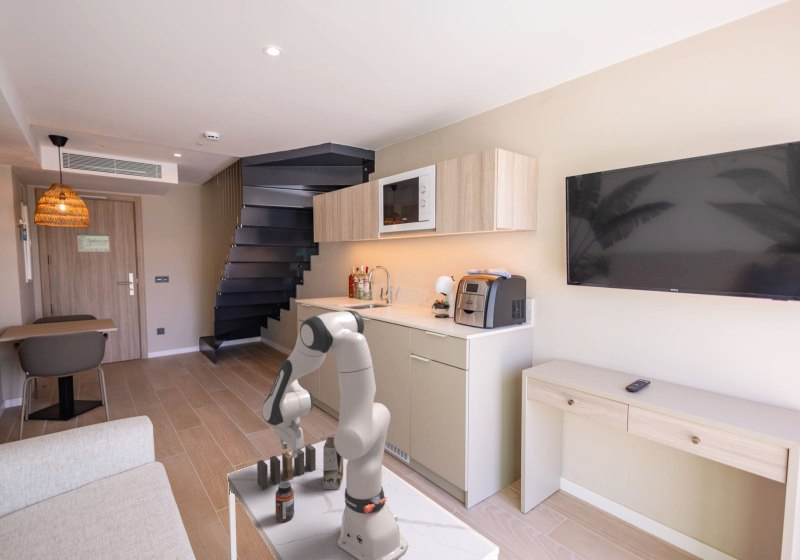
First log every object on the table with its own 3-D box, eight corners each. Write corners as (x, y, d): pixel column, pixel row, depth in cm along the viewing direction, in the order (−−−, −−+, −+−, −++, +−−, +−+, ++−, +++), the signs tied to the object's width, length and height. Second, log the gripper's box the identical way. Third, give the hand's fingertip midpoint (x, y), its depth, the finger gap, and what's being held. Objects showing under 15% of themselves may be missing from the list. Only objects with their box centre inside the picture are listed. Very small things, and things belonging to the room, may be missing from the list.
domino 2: (280, 483, 151) (280, 460, 151) (275, 485, 150) (275, 462, 149) (275, 477, 155) (274, 455, 154) (270, 479, 154) (270, 457, 153)
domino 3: (292, 478, 154) (292, 456, 154) (287, 480, 153) (287, 458, 152) (287, 473, 158) (286, 451, 158) (282, 475, 157) (282, 453, 156)
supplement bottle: (272, 516, 132) (272, 483, 131) (289, 508, 136) (289, 477, 135) (280, 525, 128) (279, 491, 127) (297, 517, 131) (296, 484, 131)
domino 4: (304, 474, 158) (304, 452, 157) (299, 476, 156) (299, 454, 156) (298, 469, 161) (298, 447, 161) (294, 470, 160) (293, 449, 160)
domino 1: (267, 488, 148) (267, 465, 147) (262, 490, 147) (262, 466, 146) (262, 482, 152) (262, 459, 151) (257, 484, 150) (257, 461, 150)
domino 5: (315, 470, 161) (315, 448, 160) (311, 471, 160) (311, 450, 159) (309, 465, 165) (309, 444, 164) (305, 466, 163) (305, 445, 163)
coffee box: (339, 489, 147) (339, 447, 146) (322, 489, 148) (322, 447, 147) (343, 476, 156) (343, 436, 156) (327, 475, 157) (327, 436, 156)
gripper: (307, 423, 148) (308, 459, 149) (285, 408, 164) (286, 441, 165) (291, 428, 144) (293, 465, 145) (270, 412, 160) (271, 446, 161)
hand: (289, 452), depth 155 cm, fingers open, 8 cm apart
